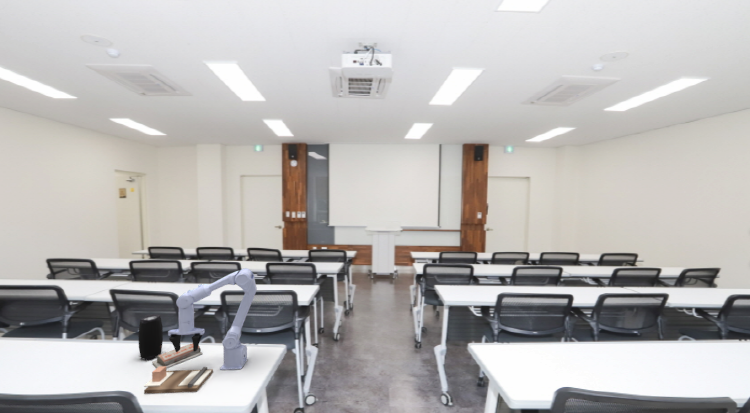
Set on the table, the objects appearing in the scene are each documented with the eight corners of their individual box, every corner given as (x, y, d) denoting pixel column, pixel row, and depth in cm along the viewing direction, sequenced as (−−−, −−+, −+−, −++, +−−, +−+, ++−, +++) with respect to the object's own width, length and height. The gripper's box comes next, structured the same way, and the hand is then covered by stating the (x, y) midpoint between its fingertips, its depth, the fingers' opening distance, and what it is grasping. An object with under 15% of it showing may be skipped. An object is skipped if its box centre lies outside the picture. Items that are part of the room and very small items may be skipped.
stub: (173, 372, 125) (173, 362, 125) (159, 386, 116) (159, 375, 116) (159, 373, 124) (159, 363, 124) (143, 386, 115) (143, 375, 115)
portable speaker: (166, 353, 144) (166, 314, 144) (147, 363, 135) (146, 321, 135) (154, 350, 147) (153, 312, 146) (134, 360, 138) (133, 319, 137)
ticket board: (213, 372, 128) (213, 365, 128) (196, 391, 115) (196, 384, 115) (166, 374, 127) (166, 367, 127) (144, 393, 114) (144, 386, 114)
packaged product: (194, 339, 149) (202, 345, 143) (194, 349, 149) (202, 355, 143) (151, 354, 134) (159, 361, 128) (151, 365, 135) (159, 372, 129)
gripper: (207, 316, 133) (208, 345, 133) (175, 317, 132) (175, 346, 132) (199, 322, 126) (199, 353, 126) (164, 323, 125) (165, 354, 125)
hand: (186, 350), depth 128 cm, fingers open, 7 cm apart
